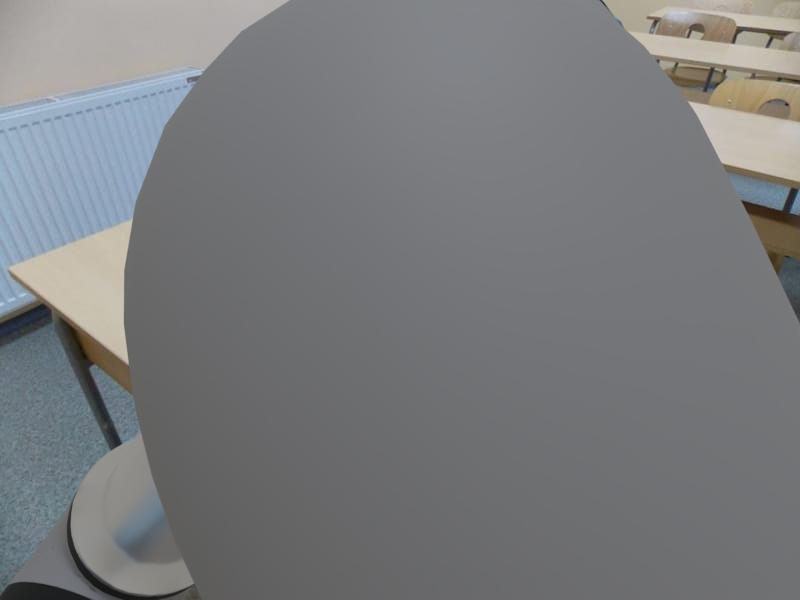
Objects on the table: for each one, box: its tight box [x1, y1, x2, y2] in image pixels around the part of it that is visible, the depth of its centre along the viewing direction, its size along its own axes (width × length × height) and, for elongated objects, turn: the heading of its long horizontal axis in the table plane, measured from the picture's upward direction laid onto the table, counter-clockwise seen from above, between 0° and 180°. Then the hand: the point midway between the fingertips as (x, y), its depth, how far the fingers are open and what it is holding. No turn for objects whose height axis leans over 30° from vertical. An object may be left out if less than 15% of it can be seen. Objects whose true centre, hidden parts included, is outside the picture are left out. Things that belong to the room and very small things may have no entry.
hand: (511, 419), depth 55 cm, fingers open, 13 cm apart
